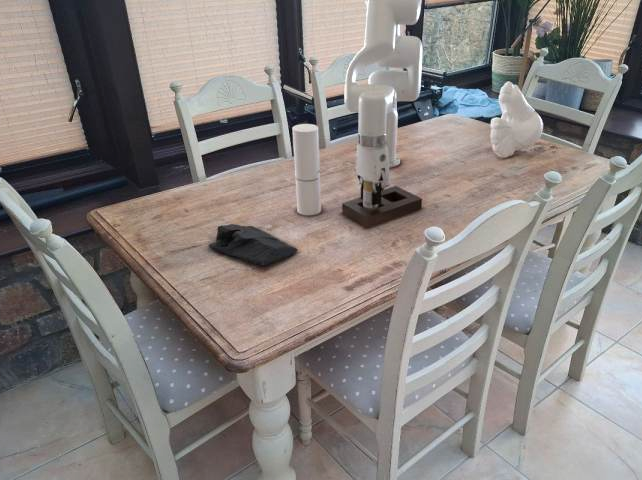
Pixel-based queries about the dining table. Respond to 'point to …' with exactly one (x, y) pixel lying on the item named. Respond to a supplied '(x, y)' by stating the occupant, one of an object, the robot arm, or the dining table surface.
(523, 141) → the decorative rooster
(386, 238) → the dining table surface
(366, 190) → the sprinkles bottle
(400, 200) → the peg block
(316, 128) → the cylindrical container
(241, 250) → the folded black cloth
